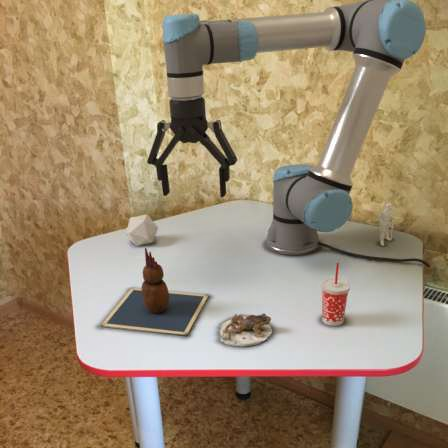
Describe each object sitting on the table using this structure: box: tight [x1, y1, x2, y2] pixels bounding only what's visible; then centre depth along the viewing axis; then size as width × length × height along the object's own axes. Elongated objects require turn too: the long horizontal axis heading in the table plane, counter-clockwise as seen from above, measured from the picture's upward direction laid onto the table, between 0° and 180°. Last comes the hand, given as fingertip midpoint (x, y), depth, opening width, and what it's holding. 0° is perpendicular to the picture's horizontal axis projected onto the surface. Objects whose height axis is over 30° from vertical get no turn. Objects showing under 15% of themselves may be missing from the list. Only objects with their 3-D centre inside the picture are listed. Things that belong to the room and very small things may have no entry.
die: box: [125, 214, 159, 247], centre depth 158 cm, size 8×9×10 cm
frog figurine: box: [219, 313, 273, 348], centre depth 115 cm, size 12×12×4 cm
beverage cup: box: [320, 262, 351, 327], centre depth 115 cm, size 6×6×14 cm
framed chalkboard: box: [100, 287, 210, 337], centre depth 124 cm, size 20×18×1 cm
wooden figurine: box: [141, 247, 169, 313], centre depth 120 cm, size 7×6×15 cm
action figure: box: [376, 202, 398, 247], centre depth 152 cm, size 6×4×12 cm, turn 123°
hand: (194, 194), depth 123 cm, fingers open, 13 cm apart
